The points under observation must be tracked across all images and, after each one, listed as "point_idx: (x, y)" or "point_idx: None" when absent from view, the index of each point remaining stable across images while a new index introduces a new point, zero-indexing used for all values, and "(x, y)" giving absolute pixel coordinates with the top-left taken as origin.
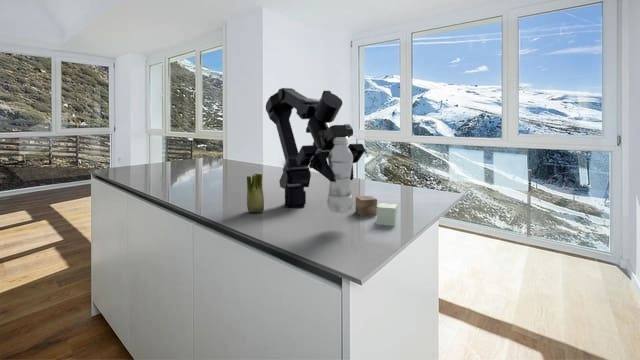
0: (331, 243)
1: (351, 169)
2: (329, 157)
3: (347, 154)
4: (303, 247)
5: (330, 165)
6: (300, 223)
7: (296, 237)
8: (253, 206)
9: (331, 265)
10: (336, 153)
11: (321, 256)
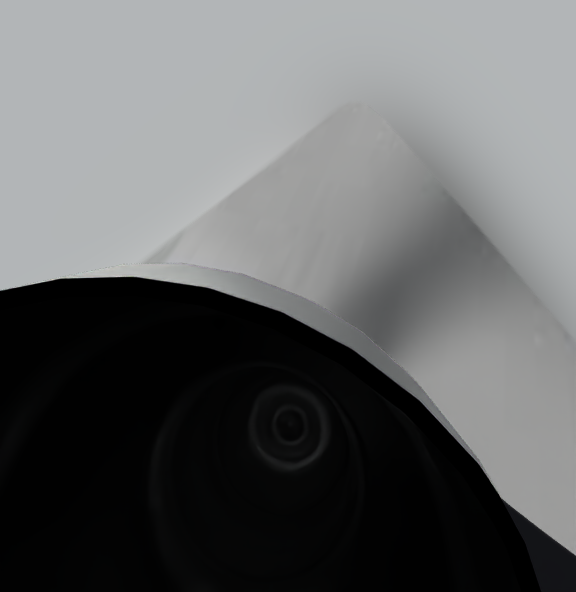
0: (367, 272)
1: (131, 409)
2: (522, 570)
3: (62, 279)
4: (458, 260)
5: (413, 475)
6: None
7: (473, 353)
8: None
9: (403, 144)
10: (372, 374)
11: (417, 193)
